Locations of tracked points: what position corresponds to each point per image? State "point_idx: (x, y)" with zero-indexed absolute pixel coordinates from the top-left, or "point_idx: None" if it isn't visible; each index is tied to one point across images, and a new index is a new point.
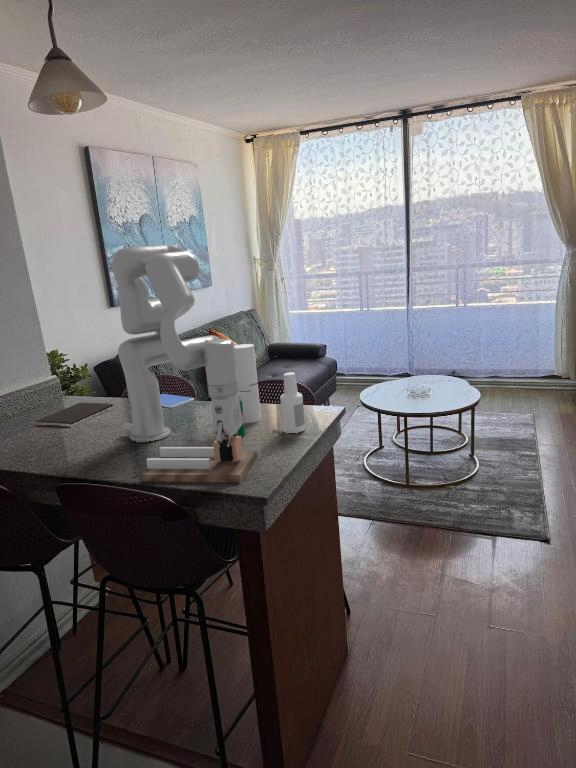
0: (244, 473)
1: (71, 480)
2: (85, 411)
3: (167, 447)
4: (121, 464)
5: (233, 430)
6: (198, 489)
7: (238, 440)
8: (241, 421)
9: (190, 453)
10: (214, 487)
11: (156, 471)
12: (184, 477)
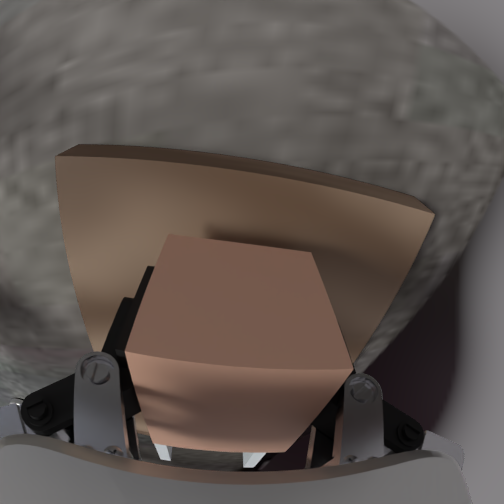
0: (355, 184)
1: (249, 469)
2: None
3: (161, 454)
4: (182, 452)
5: (434, 498)
6: (398, 331)
7: (248, 358)
8: (23, 487)
9: None
10: (409, 290)
11: None
12: None
